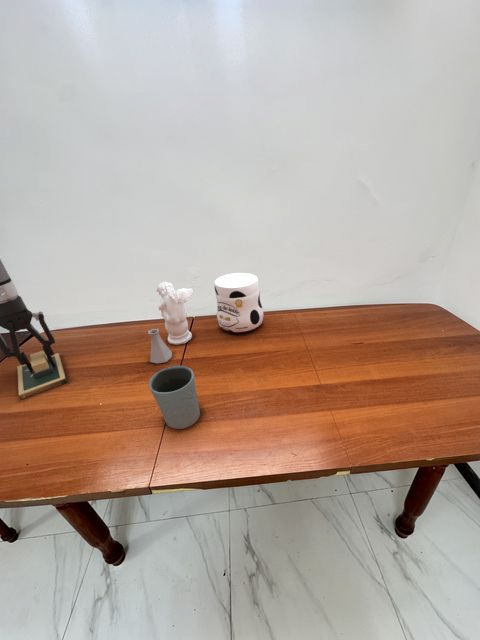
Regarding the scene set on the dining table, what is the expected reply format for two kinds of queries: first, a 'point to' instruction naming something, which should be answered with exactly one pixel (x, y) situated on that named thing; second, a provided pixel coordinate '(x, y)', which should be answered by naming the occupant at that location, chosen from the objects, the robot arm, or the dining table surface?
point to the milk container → (238, 302)
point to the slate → (40, 379)
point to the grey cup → (176, 396)
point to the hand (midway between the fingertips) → (43, 367)
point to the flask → (158, 348)
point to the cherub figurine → (175, 312)
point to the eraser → (40, 364)
